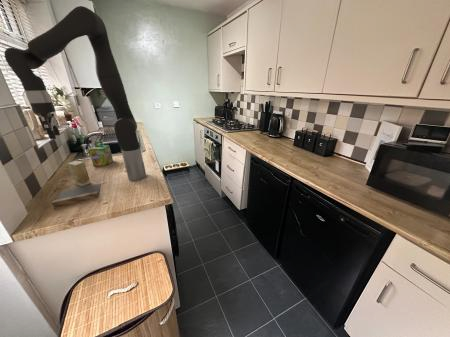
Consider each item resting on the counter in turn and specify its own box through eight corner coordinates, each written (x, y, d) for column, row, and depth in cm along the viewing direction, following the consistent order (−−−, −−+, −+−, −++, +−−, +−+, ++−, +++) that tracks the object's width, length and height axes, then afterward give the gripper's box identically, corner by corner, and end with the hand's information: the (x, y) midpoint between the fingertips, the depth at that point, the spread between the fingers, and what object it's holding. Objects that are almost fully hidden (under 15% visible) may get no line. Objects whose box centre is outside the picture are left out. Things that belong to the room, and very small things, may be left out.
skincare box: (75, 184, 95) (66, 163, 90) (83, 180, 99) (75, 160, 94) (83, 186, 93) (75, 165, 88) (91, 182, 97) (84, 161, 92)
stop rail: (98, 195, 86) (97, 191, 85) (98, 197, 84) (96, 192, 83) (55, 205, 79) (52, 200, 78) (54, 207, 77) (51, 202, 76)
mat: (100, 184, 96) (100, 183, 96) (98, 194, 86) (98, 194, 86) (62, 191, 89) (61, 191, 89) (55, 204, 79) (55, 203, 79)
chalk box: (93, 166, 117) (85, 144, 111) (99, 161, 125) (92, 140, 119) (108, 165, 119) (102, 143, 113) (113, 160, 127) (108, 139, 121)
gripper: (47, 102, 77) (62, 139, 84) (55, 100, 88) (67, 133, 95) (23, 103, 74) (40, 141, 81) (34, 101, 85) (49, 135, 92)
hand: (55, 136), depth 88 cm, fingers open, 8 cm apart
